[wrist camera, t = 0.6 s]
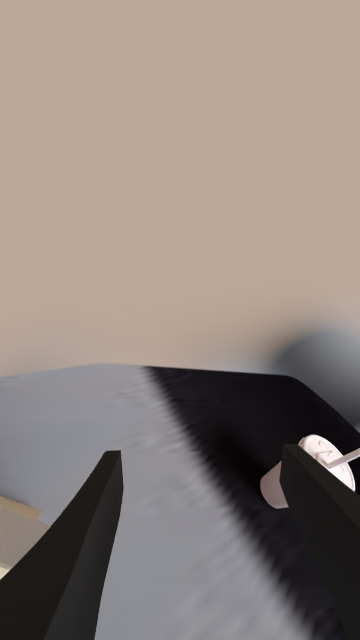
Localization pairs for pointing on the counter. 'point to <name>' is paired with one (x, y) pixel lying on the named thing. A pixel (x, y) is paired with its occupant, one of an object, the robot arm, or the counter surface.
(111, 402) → the counter surface
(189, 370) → the counter surface
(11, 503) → the tan flat wooden board
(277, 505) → the smoothie
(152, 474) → the counter surface
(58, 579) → the robot arm
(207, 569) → the counter surface
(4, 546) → the latch
